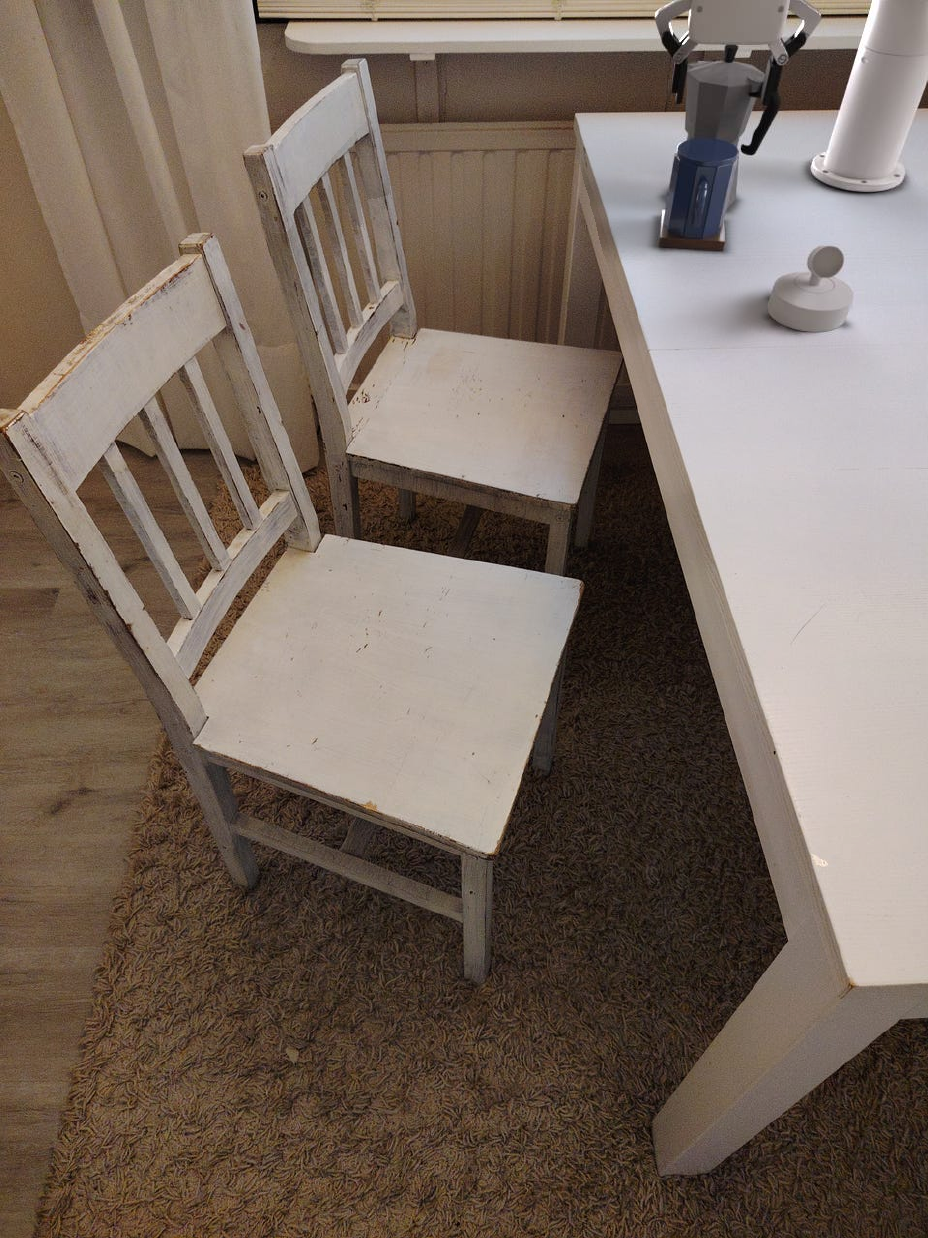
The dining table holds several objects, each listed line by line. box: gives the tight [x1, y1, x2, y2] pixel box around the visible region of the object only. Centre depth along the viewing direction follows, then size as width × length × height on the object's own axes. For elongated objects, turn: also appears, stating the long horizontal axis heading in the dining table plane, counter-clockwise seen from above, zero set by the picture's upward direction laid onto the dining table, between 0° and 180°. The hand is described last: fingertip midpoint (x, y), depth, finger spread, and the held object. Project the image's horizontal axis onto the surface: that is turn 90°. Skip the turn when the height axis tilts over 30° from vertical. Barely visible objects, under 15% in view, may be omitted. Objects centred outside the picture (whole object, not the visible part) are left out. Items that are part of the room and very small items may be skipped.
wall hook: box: [767, 244, 855, 333], centre depth 87 cm, size 9×10×10 cm
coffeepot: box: [666, 45, 782, 209], centre depth 102 cm, size 15×9×18 cm, turn 36°
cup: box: [663, 138, 739, 239], centre depth 98 cm, size 9×8×9 cm
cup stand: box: [658, 209, 726, 252], centre depth 100 cm, size 8×8×9 cm
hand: (721, 100), depth 92 cm, fingers open, 9 cm apart
